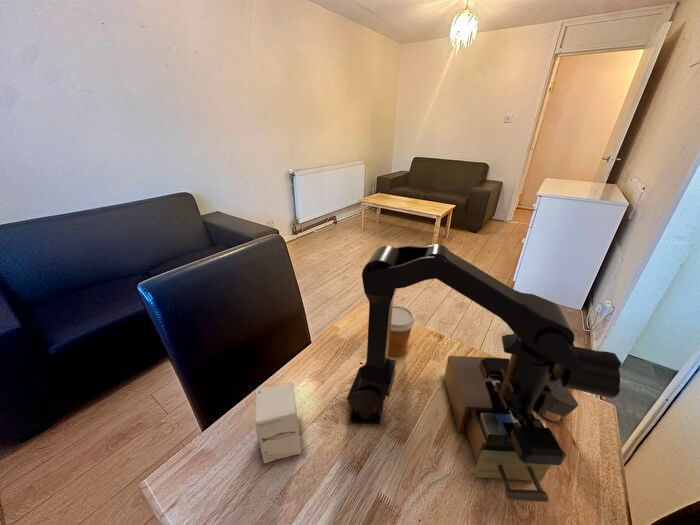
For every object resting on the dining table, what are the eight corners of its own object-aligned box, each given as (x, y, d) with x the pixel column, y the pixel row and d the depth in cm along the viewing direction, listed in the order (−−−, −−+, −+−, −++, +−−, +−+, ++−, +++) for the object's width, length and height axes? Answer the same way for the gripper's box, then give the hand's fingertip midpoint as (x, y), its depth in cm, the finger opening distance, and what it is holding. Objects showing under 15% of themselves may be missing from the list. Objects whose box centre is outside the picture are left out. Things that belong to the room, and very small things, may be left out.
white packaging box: (263, 465, 54) (252, 423, 48) (263, 428, 61) (254, 388, 55) (302, 454, 56) (296, 413, 50) (298, 420, 62) (292, 379, 57)
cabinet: (520, 435, 59) (531, 410, 55) (458, 432, 60) (465, 406, 56) (494, 381, 71) (502, 357, 68) (443, 379, 72) (448, 355, 68)
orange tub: (415, 344, 83) (420, 311, 78) (403, 366, 76) (407, 330, 70) (386, 333, 88) (388, 300, 82) (371, 352, 80) (373, 318, 75)
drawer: (557, 515, 46) (571, 495, 44) (486, 510, 47) (495, 490, 44) (510, 416, 62) (518, 396, 59) (457, 413, 63) (462, 394, 60)
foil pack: (518, 426, 55) (523, 414, 54) (529, 448, 52) (535, 436, 50) (476, 424, 56) (480, 412, 54) (484, 445, 52) (488, 433, 51)
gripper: (624, 432, 38) (581, 494, 45) (546, 336, 54) (523, 392, 61) (537, 427, 38) (508, 489, 45) (486, 334, 55) (471, 389, 62)
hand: (503, 432), depth 53 cm, fingers closed on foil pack, 4 cm apart
